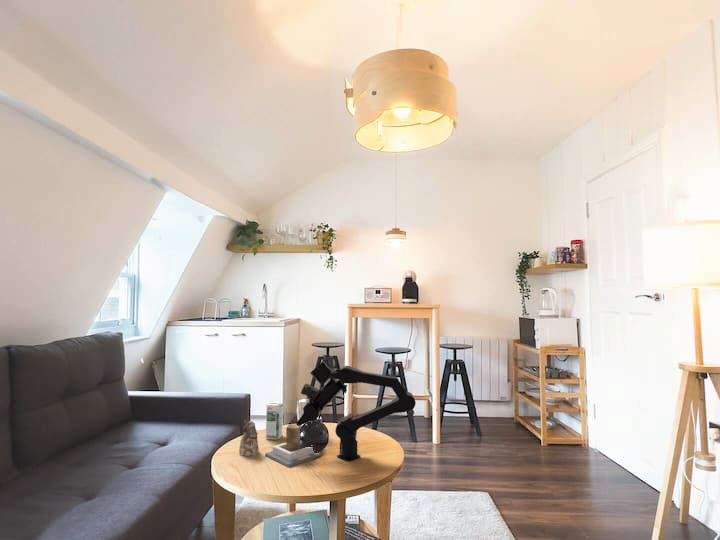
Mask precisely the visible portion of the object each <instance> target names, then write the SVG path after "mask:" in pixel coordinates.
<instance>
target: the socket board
mask: <svg viewBox="0 0 720 540" xmlns="http://www.w3.org/2000/svg"><path fill="white" fill-rule="evenodd" d="M314 451H315V450H314ZM314 451H313V447H305V448H302V449H298V450H295V451H292V452H290V451H288V450H286V442H283V443H280V444H277V445H274V446H272V451H269V452H265V453H264V456H265V458H266V457H267V458H268V459H270V460H273V461H274V462H276V463H278V464H281V465H283V466H285V467H287V468H290V467H293V466H296V465H300V464H301V463H305V462H308V461H311V460H314V459H315V458H319V457H321V456H322V453H321V452H319V453H314Z"/></svg>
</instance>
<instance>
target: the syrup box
mask: <svg viewBox="0 0 720 540" xmlns="http://www.w3.org/2000/svg"><path fill="white" fill-rule="evenodd" d="M265 407H266V413H265V415H266V417H265V418H266V420H265V422H266V423H265V424H266V425H265V439H266V440H276V441H278V440H280V438H282V437H283V425H284V424H283V422H284V420H283V419H284V418H283V417H284V402H283V401H282V402H280V401H279V402H277V401H276V402H275V401H270V402H269V403H267V404H266V406H265Z"/></svg>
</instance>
